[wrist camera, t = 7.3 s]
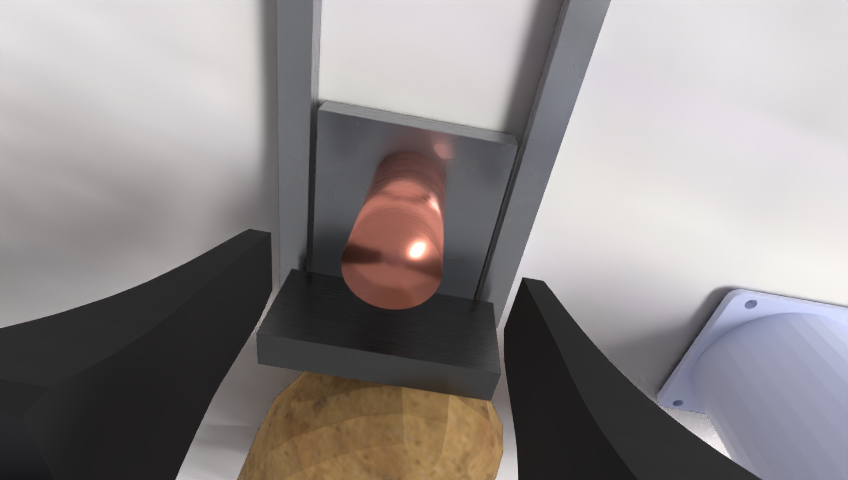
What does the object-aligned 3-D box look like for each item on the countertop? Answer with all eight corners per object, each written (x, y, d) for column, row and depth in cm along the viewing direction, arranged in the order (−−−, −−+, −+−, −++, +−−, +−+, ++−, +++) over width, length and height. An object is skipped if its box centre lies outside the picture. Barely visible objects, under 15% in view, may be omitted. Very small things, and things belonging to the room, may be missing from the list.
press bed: (759, -255, 11) (1007, -436, 6) (468, 478, 30) (470, 584, 24) (212, -376, 11) (-5, -679, 6) (260, 446, 29) (218, 547, 24)
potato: (232, 373, 26) (151, 520, 19) (426, 260, 20) (411, 406, 14) (345, 457, 29) (311, 605, 23) (532, 380, 24) (561, 541, 18)
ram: (537, 139, 17) (579, 228, 11) (483, 311, 21) (493, 436, 16) (302, 95, 16) (221, 165, 11) (299, 280, 21) (241, 396, 15)
